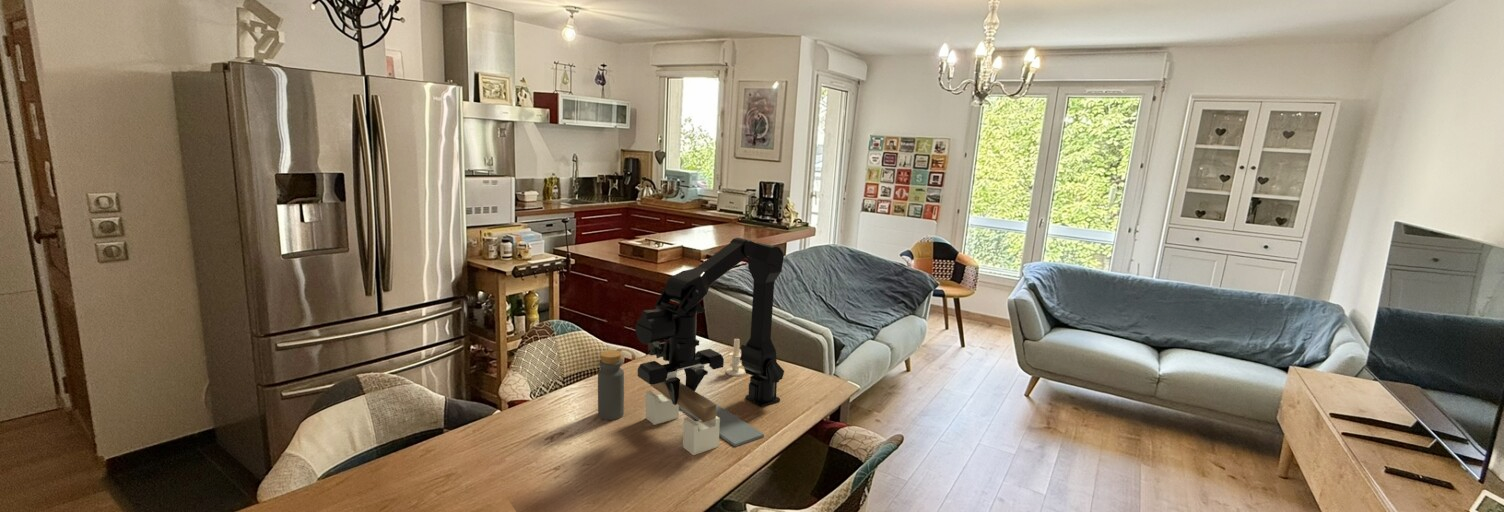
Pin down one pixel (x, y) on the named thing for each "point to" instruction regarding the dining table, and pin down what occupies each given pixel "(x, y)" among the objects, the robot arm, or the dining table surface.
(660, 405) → the post
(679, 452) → the dining table surface
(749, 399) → the robot arm
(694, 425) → the post
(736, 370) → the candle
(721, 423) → the mat
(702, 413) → the rail
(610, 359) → the bottle
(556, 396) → the dining table surface
